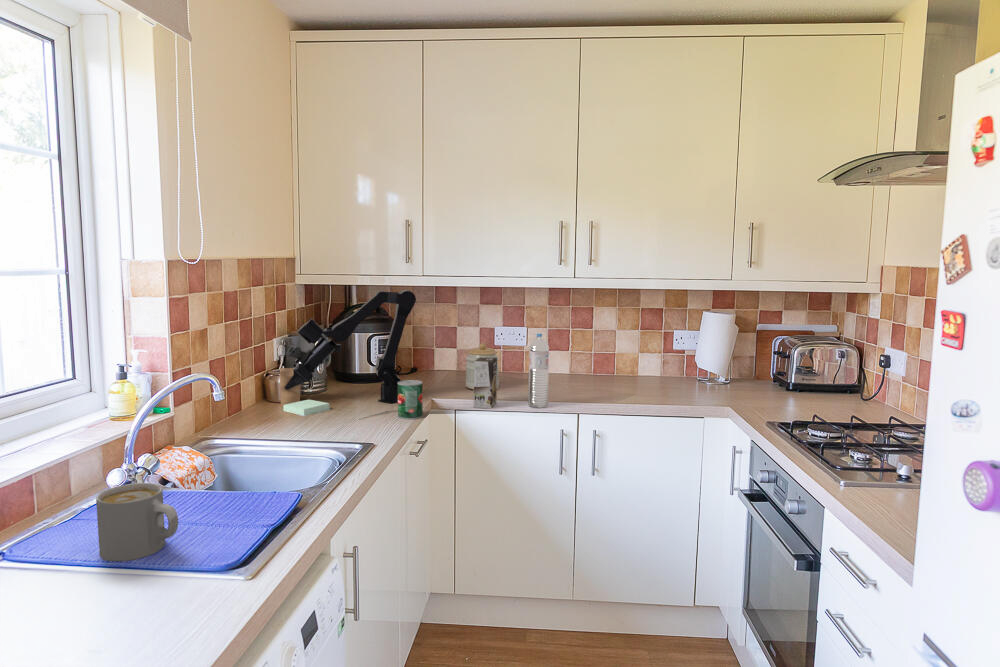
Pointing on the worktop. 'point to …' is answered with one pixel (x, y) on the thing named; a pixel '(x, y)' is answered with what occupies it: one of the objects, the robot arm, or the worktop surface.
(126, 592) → the worktop surface
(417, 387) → the canned tomato
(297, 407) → the sage top slab
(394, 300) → the robot arm
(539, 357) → the water bottle
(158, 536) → the coffee mug
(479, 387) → the coffee box
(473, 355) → the jar
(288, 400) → the walnut post
